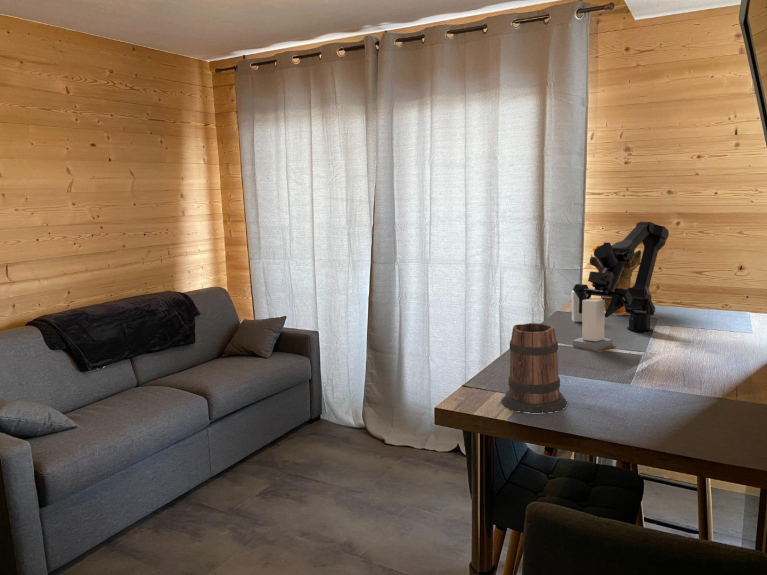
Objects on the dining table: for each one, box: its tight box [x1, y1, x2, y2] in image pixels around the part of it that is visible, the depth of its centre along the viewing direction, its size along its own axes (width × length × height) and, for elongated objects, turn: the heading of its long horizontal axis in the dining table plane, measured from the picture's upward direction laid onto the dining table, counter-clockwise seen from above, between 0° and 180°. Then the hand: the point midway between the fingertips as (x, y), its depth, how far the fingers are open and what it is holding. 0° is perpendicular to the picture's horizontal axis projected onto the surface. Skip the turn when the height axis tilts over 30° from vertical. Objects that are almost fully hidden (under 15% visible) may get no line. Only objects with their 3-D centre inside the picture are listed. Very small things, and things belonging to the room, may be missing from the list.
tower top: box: [572, 336, 614, 352], centre depth 200 cm, size 9×9×2 cm
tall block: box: [581, 298, 605, 341], centre depth 199 cm, size 5×5×13 cm
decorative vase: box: [589, 244, 642, 316], centre depth 250 cm, size 21×23×28 cm
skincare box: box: [571, 289, 582, 323], centre depth 238 cm, size 6×4×12 cm
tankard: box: [500, 322, 568, 413], centre depth 158 cm, size 24×17×20 cm
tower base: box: [571, 343, 617, 353], centre depth 200 cm, size 11×11×2 cm
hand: (592, 314), depth 198 cm, fingers open, 9 cm apart
